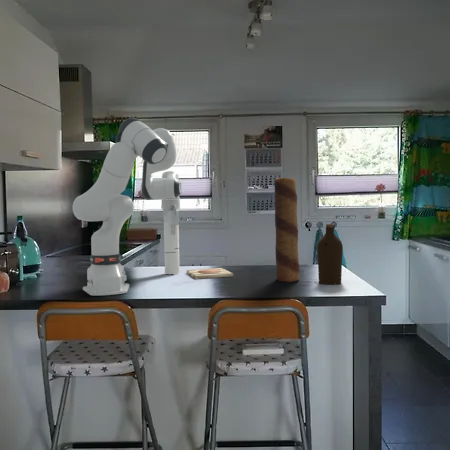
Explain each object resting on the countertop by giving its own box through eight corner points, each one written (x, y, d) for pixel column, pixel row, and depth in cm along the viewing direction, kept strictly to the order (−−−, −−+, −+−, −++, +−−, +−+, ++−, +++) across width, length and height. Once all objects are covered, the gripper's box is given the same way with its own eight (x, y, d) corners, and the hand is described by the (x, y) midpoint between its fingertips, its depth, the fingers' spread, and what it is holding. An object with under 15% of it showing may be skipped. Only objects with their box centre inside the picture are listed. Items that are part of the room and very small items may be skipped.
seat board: (233, 276, 219) (233, 272, 219) (195, 279, 214) (195, 275, 213) (221, 270, 236) (221, 267, 236) (186, 273, 231) (186, 269, 231)
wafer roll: (270, 280, 207) (269, 178, 205) (284, 277, 215) (283, 178, 213) (289, 283, 200) (288, 177, 198) (303, 279, 208) (302, 177, 206)
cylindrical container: (182, 273, 230) (181, 222, 228) (171, 275, 224) (170, 223, 223) (173, 272, 235) (172, 222, 233) (161, 274, 229) (160, 223, 228)
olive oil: (345, 284, 194) (345, 224, 193) (319, 285, 194) (319, 225, 193) (339, 280, 205) (339, 223, 203) (315, 280, 205) (314, 223, 204)
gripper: (181, 205, 219) (182, 235, 219) (173, 205, 238) (173, 232, 239) (168, 205, 217) (169, 235, 217) (160, 205, 236) (161, 232, 237)
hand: (171, 233), depth 228 cm, fingers closed on cylindrical container, 7 cm apart
